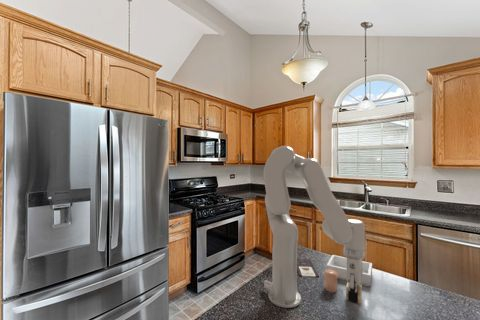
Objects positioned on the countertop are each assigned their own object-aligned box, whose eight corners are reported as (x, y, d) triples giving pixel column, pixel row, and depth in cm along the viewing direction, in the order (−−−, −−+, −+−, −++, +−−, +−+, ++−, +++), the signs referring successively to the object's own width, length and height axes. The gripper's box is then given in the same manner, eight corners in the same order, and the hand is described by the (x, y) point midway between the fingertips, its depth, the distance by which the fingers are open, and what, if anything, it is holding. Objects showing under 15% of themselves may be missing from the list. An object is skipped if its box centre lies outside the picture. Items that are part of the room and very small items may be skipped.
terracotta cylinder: (323, 289, 95) (323, 273, 95) (326, 284, 99) (326, 268, 99) (336, 293, 92) (336, 276, 92) (338, 288, 97) (338, 271, 97)
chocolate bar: (309, 259, 124) (318, 276, 106) (309, 261, 124) (318, 278, 106) (293, 258, 124) (299, 275, 106) (293, 260, 124) (299, 277, 106)
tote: (326, 275, 107) (326, 264, 107) (332, 264, 119) (332, 254, 119) (370, 287, 97) (370, 275, 97) (372, 273, 109) (372, 263, 109)
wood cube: (346, 299, 89) (346, 286, 89) (347, 293, 93) (347, 281, 93) (360, 304, 86) (360, 290, 86) (361, 297, 90) (361, 284, 90)
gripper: (362, 261, 80) (362, 313, 80) (366, 246, 95) (366, 290, 94) (340, 256, 84) (339, 305, 84) (346, 243, 99) (346, 285, 98)
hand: (353, 297), depth 89 cm, fingers closed on wood cube, 5 cm apart
